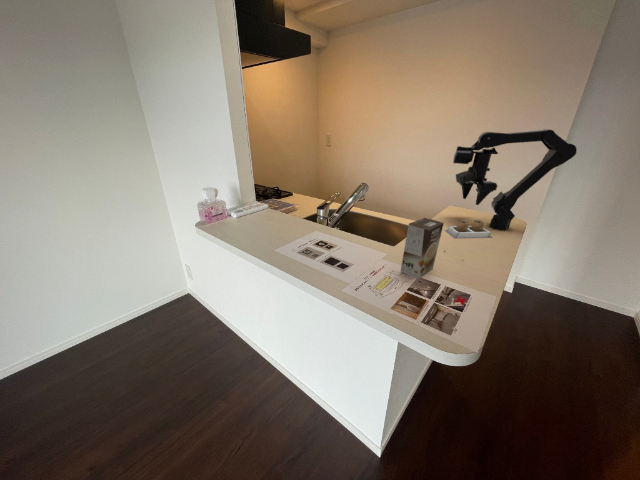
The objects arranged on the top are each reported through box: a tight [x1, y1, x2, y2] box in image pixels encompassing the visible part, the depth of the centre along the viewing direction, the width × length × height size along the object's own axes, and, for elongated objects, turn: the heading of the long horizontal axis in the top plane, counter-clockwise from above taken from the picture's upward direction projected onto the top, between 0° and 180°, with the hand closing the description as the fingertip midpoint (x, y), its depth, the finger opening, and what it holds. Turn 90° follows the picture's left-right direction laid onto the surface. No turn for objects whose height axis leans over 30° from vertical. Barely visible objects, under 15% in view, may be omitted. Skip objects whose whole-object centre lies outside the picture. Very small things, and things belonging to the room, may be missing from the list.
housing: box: [443, 225, 494, 240], centre depth 105 cm, size 16×8×3 cm, turn 94°
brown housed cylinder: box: [471, 219, 485, 232], centre depth 104 cm, size 4×4×6 cm
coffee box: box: [400, 217, 444, 280], centre depth 77 cm, size 9×6×16 cm
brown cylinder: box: [456, 219, 470, 232], centre depth 104 cm, size 4×4×6 cm
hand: (470, 201), depth 112 cm, fingers open, 9 cm apart
